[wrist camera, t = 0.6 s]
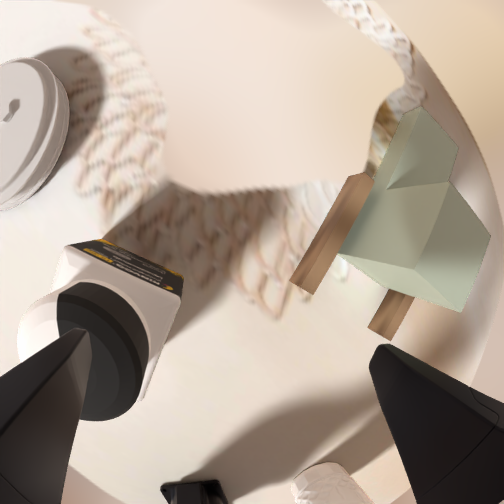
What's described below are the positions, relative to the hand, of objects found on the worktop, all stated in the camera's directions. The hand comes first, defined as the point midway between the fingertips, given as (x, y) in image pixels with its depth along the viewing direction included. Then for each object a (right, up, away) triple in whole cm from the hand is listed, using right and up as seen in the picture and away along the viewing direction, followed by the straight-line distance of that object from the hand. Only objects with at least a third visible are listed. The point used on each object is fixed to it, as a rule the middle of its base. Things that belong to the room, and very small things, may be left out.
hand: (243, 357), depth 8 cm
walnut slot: (+10, +2, +16) cm, 19 cm away
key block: (+14, +8, +17) cm, 23 cm away
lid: (-20, +13, +10) cm, 26 cm away
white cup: (+8, -24, +19) cm, 31 cm away
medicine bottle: (-9, -1, +13) cm, 16 cm away
